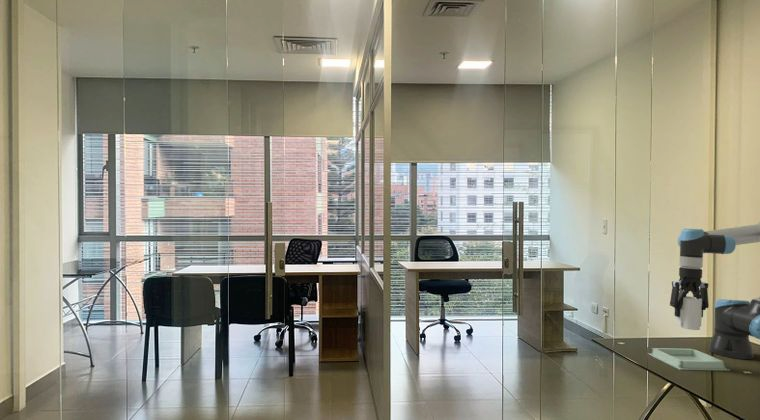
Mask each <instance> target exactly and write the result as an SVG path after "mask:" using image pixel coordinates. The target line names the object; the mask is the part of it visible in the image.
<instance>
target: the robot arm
mask: <svg viewBox="0 0 760 420" xmlns="http://www.w3.org/2000/svg"><path fill="white" fill-rule="evenodd" d="M754 243H755V244H756V243H760V221H759V222H757V224H750V225H744V226H743V225H742V226H736V227H727V228H720V229H713V230H712V229H711V230H706V231H704V230H703V229H702V228H700V229H699V228H682V229H681V230H680V235H679V236H678V238H677V244H678V246H679V266H680V267H679V268H678V276H679V279H678V281H671V285H672V286H671V287H672V288H671V293H670V301H669V306H670V307H672V308H674V317H675V325H677V326H680V327H681V326H683V309H681V307H682V305H683V297H686V296H687V294H689V293H691V294H692V297H696V298H697V299H699V298H701V299H702V307H701V319H702V318H704V311H706V310H707V309H709V308H710V307H709V306H710V305H709V293H708V289H709V283H707V282H704V281H702V279H703V269H702V268H703V266H704V265H703V263H704V259H703V258H704V254H719V255H729V254H732V253H733V252H734V251H735V250H736V246H740V245H748V244H754ZM700 327H702V320H701V321H700ZM713 330H714V331H713V332H714V333H713V335H712V337H711V340H710V342H709V343H708V351H709V352H711V353H713V354H716V355H719V356H722V357H728V358H732V359H738V360H739V359H741V360H752V359H754V357H755V355H754V352H755V351H754V350H753V348H752V344H751V340H750V337H754V338H755V339H758V340H760V296H758V297H756V298H752V299H751V301H749V300H739V299H726V298H725V299H717V300H716V301H715V305H714V329H713Z"/></svg>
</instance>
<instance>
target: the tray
mask: <svg viewBox="0 0 760 420" xmlns="http://www.w3.org/2000/svg"><path fill="white" fill-rule="evenodd" d="M648 354H649V355H648ZM647 355H648V356H650V355H651V357H653V358H654V359H657V360H659V361H661V362H663V363H665V364H667V365H669V366H671V367H673V368H675V369H678V370H679V371H726V372H727V371H729V372H730V371H731V369H729V368H727V367H726V365H727V364H726V363H727V362H726V361H725V360H722V359H720V358H717V357H714V356H713V355H709V354H707V353H705V352H703V351H699V350H697V349H695V348H673V347H672V348H671V347H669V348H668V347H667V348H665V347H661V348H660V347H659V348H657V347H653V348H651V353H649V352H647Z"/></svg>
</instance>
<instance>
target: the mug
mask: <svg viewBox="0 0 760 420" xmlns="http://www.w3.org/2000/svg"><path fill="white" fill-rule="evenodd" d="M701 307H702V299H701V298H699V299H697V298H696V297H693V296H687V295H686V297H683V305H682V307H681V309H683V326H680V328H683V329H686V330H691V331H700V330H701V326H700V321H701V322H702V318H701Z"/></svg>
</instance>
